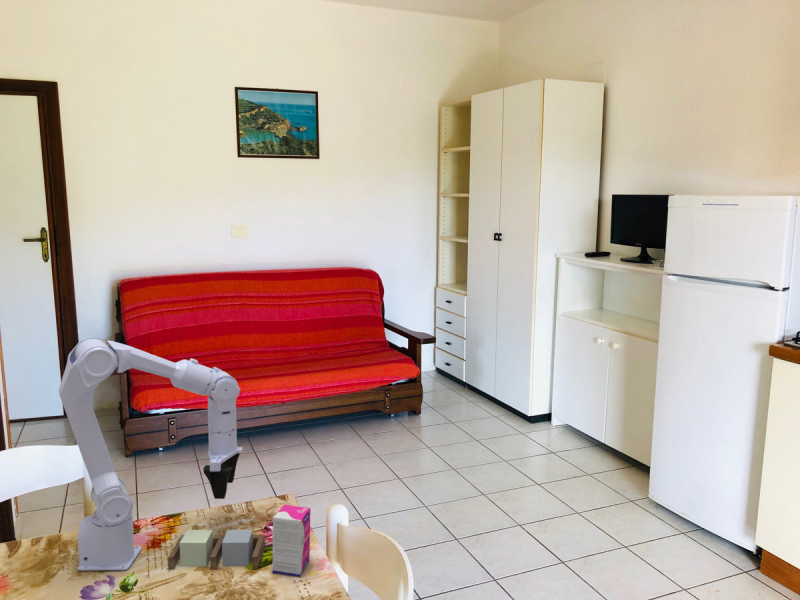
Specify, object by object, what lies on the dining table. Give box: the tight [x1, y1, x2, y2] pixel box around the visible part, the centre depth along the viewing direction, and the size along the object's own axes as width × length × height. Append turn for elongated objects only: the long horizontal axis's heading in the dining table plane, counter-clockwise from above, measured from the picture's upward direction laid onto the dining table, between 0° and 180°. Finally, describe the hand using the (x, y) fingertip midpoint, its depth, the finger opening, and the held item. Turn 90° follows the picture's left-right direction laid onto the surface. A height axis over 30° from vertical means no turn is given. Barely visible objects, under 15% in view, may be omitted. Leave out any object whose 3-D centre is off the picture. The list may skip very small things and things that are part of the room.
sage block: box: [179, 529, 214, 568], centre depth 127 cm, size 5×5×5 cm
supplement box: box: [271, 504, 311, 578], centre depth 124 cm, size 6×6×12 cm
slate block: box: [221, 529, 254, 567], centre depth 127 cm, size 5×5×5 cm
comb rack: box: [167, 533, 266, 570], centre depth 128 cm, size 17×8×2 cm, turn 92°
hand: (224, 489), depth 137 cm, fingers open, 7 cm apart
